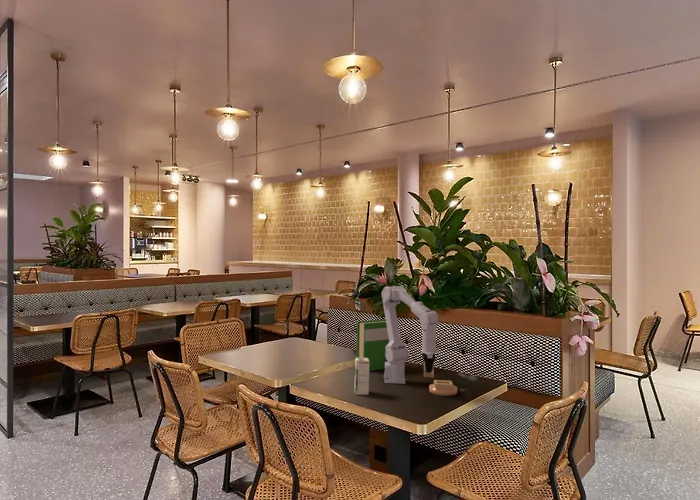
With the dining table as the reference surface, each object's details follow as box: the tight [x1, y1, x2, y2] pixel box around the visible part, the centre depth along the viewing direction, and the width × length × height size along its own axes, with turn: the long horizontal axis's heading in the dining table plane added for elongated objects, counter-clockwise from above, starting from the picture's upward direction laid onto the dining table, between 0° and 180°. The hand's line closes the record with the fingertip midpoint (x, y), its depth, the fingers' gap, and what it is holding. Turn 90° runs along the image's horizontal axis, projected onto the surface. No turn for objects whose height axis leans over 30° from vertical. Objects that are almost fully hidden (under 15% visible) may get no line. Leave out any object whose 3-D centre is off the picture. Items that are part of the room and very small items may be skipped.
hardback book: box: [356, 319, 389, 372], centre depth 246 cm, size 18×7×24 cm, turn 120°
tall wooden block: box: [423, 361, 435, 378], centre depth 204 cm, size 4×2×6 cm, turn 84°
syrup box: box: [353, 357, 370, 396], centre depth 202 cm, size 6×6×14 cm
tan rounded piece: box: [428, 379, 458, 397], centre depth 206 cm, size 12×12×4 cm
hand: (428, 371), depth 204 cm, fingers closed on tall wooden block, 2 cm apart
